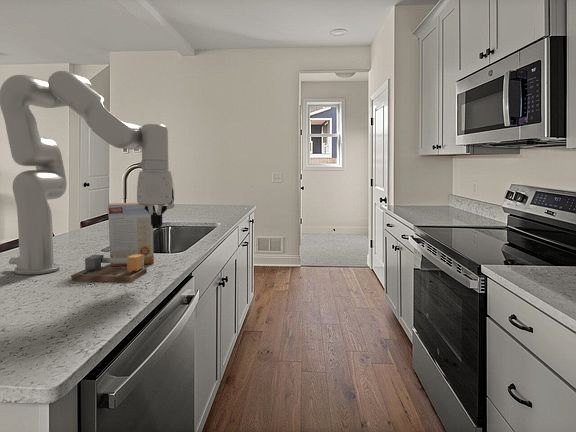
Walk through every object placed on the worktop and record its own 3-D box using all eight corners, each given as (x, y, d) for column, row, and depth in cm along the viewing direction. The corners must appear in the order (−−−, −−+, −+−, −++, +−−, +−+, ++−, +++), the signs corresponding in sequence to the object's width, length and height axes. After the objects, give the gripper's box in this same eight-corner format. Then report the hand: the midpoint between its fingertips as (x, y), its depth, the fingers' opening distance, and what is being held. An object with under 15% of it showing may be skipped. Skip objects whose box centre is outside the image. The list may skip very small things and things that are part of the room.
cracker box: (151, 260, 170) (150, 201, 168) (154, 264, 164) (152, 203, 162) (109, 263, 165) (107, 202, 162) (110, 267, 159) (108, 204, 157)
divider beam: (76, 273, 142) (75, 260, 142) (91, 267, 151) (91, 254, 151) (132, 275, 141) (132, 261, 140) (144, 268, 150) (144, 255, 150)
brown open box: (71, 280, 140) (71, 274, 140) (91, 271, 152) (90, 266, 152) (131, 281, 139) (131, 276, 139) (146, 272, 151) (146, 267, 151)
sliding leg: (122, 273, 141) (122, 259, 141) (134, 266, 150) (134, 253, 150) (132, 273, 141) (132, 259, 140) (144, 267, 150) (143, 254, 150)
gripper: (125, 166, 140) (127, 229, 141) (176, 166, 138) (177, 229, 140) (135, 166, 147) (137, 226, 149) (183, 166, 146) (184, 226, 148)
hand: (156, 227), depth 145 cm, fingers closed
